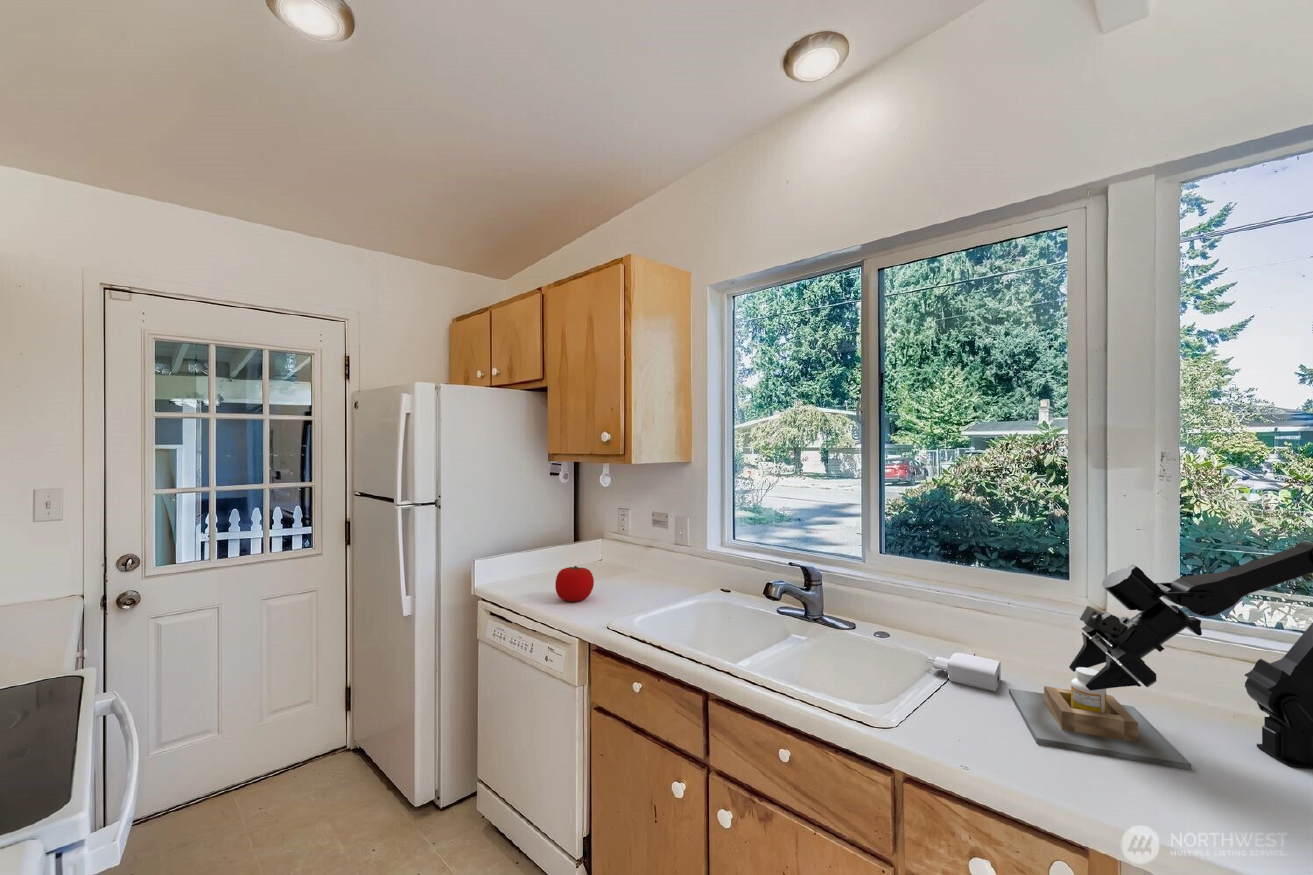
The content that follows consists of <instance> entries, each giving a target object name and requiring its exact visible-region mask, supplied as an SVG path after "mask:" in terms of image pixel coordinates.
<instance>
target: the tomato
mask: <svg viewBox="0 0 1313 875" xmlns="http://www.w3.org/2000/svg"><path fill="white" fill-rule="evenodd" d="M578 566H579V565H574V566H569V567H568V566H567V567H565V568H562V569H560V570H559V572H558V573H557V575H556V577H555V584H554V585H555V586H554V587H555V588H554V589H555V591H556V594H557V596H558V597H559V598H560V599H561V600H562V601H567V602H571V603H572V602H573V603H574V602H580V601H581V602H582V601H584V600H586V599H587V598H588V597H589V596H590V595H591V594H592V592H593V588H594V584H595V580H594V576H593V572H591V570H590V569H589V568H586V567H578Z"/></svg>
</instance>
